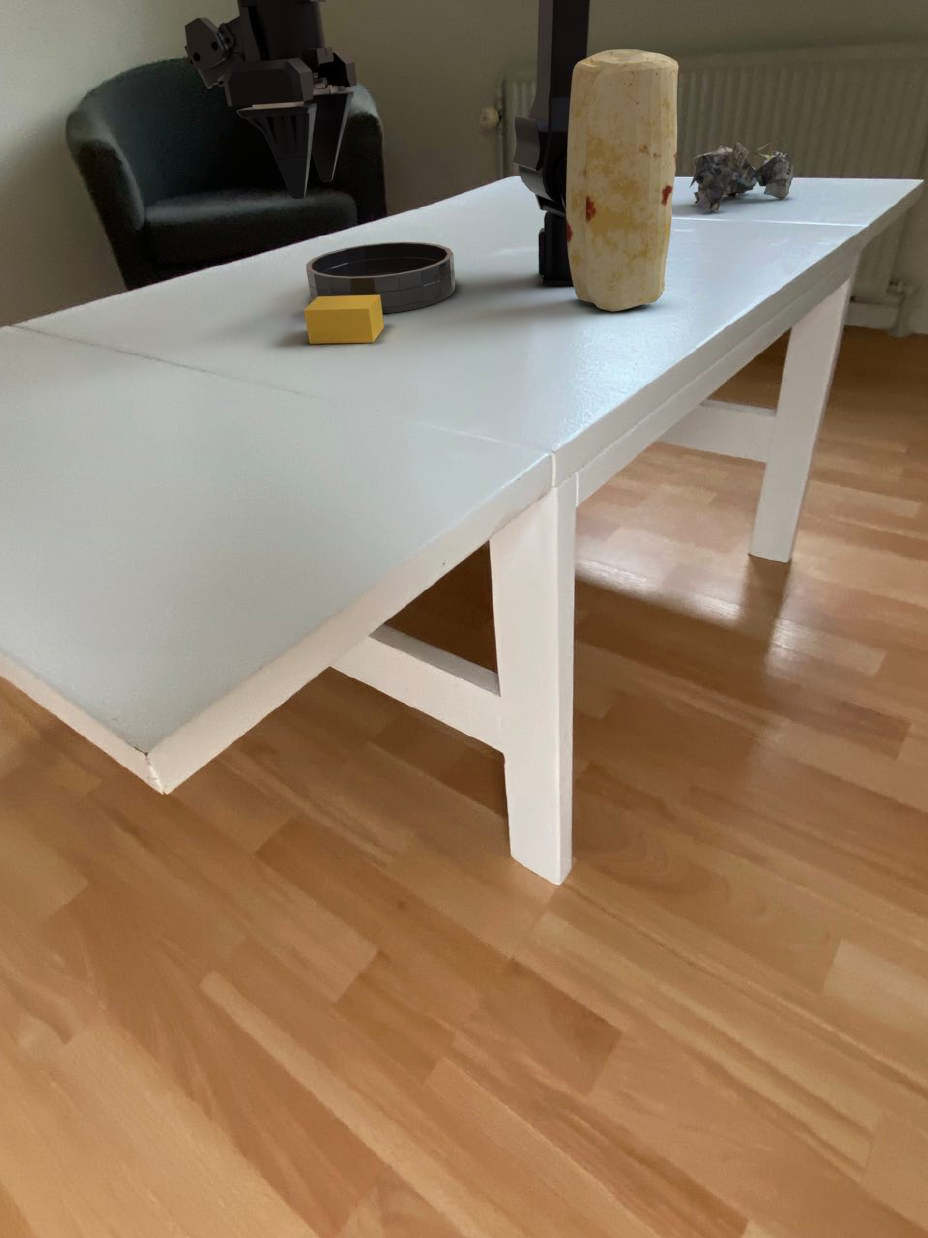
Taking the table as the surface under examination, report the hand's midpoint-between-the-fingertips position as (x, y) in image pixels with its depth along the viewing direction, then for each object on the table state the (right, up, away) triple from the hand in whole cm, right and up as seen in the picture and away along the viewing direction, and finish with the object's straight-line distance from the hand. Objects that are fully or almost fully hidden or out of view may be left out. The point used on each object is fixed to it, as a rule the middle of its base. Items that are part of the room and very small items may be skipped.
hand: (313, 189), depth 75 cm
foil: (+52, +18, +38) cm, 67 cm away
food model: (+28, -9, +3) cm, 30 cm away
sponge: (+3, -13, +1) cm, 14 cm away
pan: (+5, -5, +12) cm, 14 cm away
